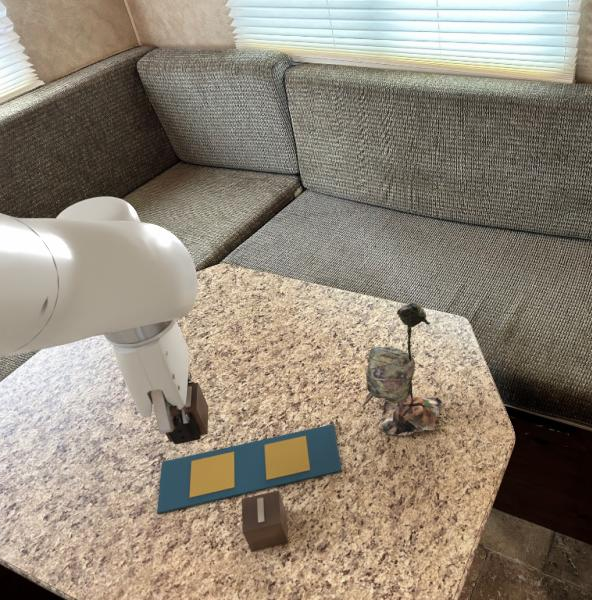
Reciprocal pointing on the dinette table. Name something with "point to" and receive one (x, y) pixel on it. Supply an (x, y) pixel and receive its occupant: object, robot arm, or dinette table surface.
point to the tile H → (195, 408)
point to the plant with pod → (400, 383)
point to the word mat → (248, 468)
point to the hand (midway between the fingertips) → (188, 422)
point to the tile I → (264, 521)
